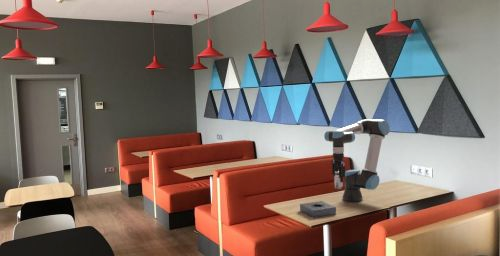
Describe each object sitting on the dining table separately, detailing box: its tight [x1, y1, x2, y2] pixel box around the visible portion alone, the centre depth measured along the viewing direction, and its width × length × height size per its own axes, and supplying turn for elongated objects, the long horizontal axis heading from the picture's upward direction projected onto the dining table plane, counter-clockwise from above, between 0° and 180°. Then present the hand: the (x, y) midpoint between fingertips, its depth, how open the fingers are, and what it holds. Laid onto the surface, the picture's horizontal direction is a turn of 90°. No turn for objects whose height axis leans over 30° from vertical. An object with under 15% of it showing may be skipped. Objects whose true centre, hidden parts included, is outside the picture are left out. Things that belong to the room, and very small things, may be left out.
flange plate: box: [299, 200, 337, 219], centre depth 285 cm, size 18×18×5 cm
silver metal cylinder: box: [334, 170, 343, 190], centre depth 285 cm, size 5×5×12 cm
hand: (338, 185), depth 285 cm, fingers closed on silver metal cylinder, 5 cm apart
